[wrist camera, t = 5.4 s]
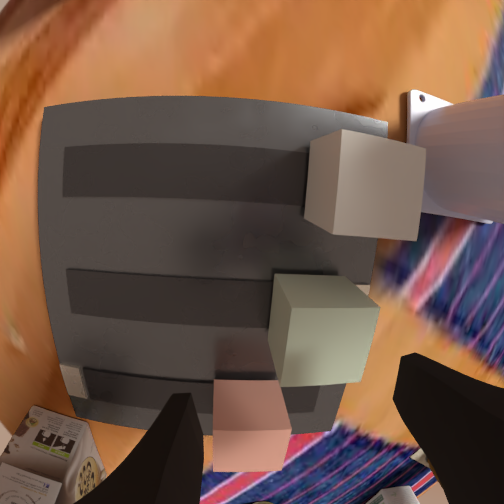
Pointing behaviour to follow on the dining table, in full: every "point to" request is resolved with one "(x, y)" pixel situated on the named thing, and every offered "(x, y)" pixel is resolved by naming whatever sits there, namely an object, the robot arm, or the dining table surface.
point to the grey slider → (365, 186)
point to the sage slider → (319, 329)
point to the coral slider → (249, 426)
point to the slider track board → (182, 247)
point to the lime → (263, 502)
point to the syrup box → (395, 496)
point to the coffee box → (49, 461)
